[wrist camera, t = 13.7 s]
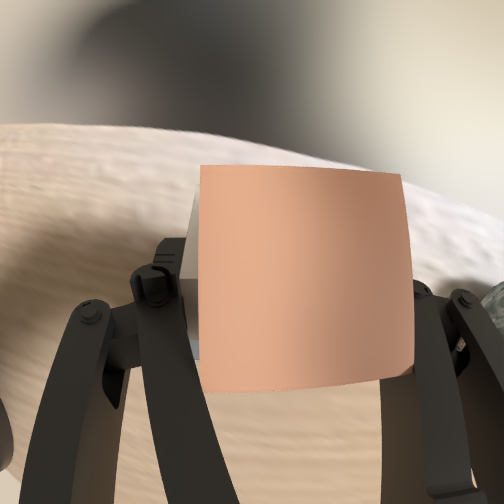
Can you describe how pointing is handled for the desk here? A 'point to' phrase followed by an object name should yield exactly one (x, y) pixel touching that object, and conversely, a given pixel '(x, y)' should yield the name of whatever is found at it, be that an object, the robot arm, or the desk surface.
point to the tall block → (302, 278)
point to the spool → (495, 306)
